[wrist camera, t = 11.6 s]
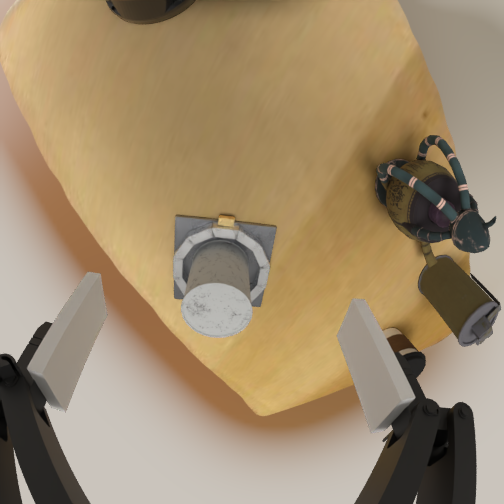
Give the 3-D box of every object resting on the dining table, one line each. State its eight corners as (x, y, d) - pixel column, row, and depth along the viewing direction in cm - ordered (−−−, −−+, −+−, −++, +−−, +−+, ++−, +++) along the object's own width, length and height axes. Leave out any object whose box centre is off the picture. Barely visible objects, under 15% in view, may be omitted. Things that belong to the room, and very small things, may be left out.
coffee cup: (359, 354, 63) (375, 392, 53) (375, 320, 58) (396, 359, 48) (395, 351, 64) (413, 385, 54) (413, 318, 59) (435, 353, 49)
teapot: (405, 123, 39) (511, 152, 18) (442, 238, 49) (514, 305, 29) (348, 155, 42) (437, 205, 21) (396, 268, 52) (458, 350, 32)
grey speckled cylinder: (224, 228, 46) (221, 269, 35) (260, 269, 49) (266, 316, 39) (180, 261, 48) (166, 306, 37) (216, 297, 52) (213, 346, 41)
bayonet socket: (176, 209, 44) (173, 215, 42) (277, 220, 46) (279, 227, 44) (174, 300, 53) (172, 310, 50) (259, 308, 55) (260, 318, 52)
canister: (426, 302, 57) (469, 363, 40) (411, 277, 53) (461, 342, 36) (459, 272, 54) (509, 326, 36) (447, 244, 50) (506, 299, 33)
